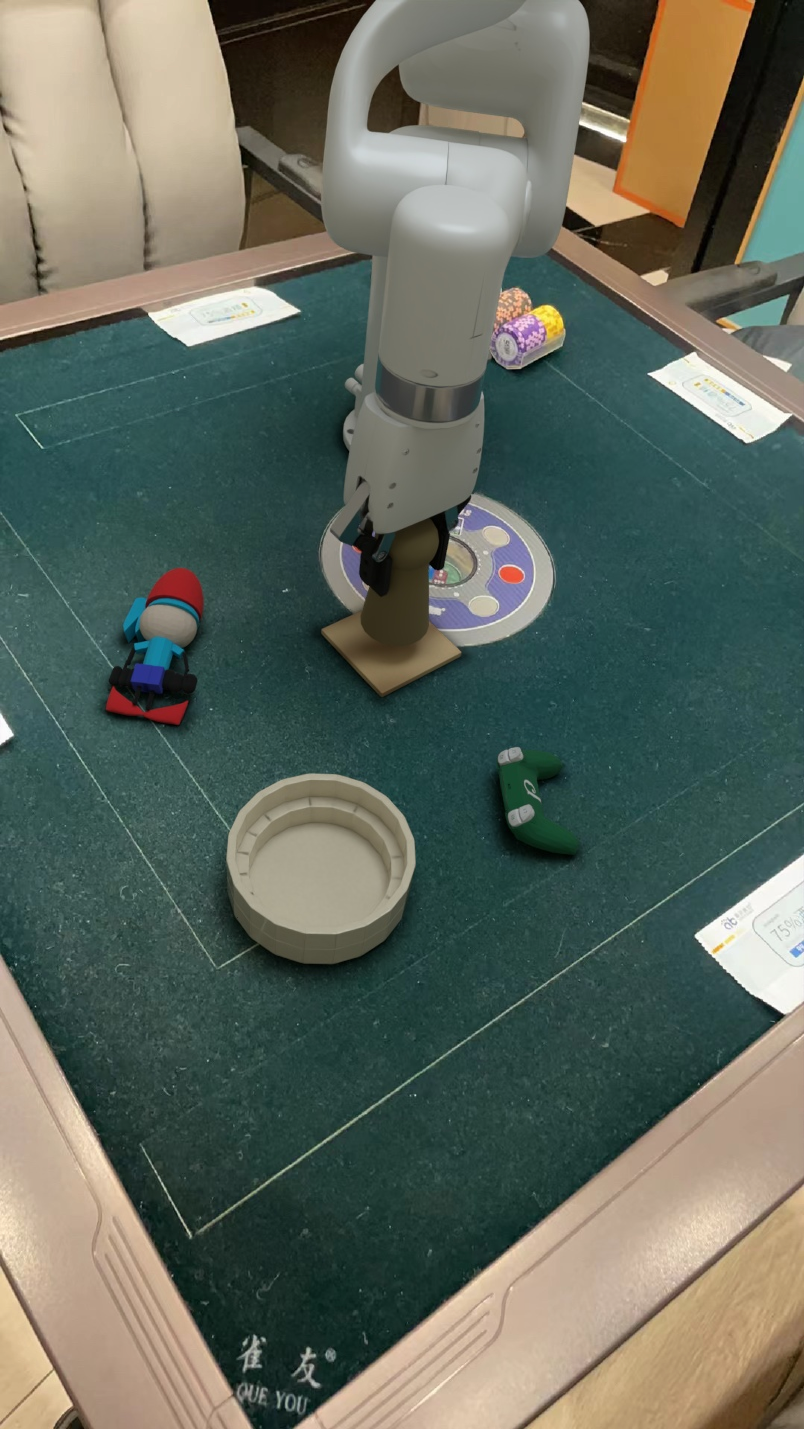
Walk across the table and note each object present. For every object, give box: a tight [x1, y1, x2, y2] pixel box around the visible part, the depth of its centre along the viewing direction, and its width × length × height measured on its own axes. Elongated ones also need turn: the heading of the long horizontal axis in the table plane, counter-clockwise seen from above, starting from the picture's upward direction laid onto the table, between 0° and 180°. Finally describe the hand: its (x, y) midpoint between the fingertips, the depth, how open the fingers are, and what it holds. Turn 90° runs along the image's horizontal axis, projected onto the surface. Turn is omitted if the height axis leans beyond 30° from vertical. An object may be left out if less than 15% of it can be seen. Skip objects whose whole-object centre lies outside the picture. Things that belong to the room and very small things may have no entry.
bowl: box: [225, 773, 417, 965], centre depth 76 cm, size 13×13×5 cm
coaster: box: [320, 610, 462, 698], centre depth 94 cm, size 9×9×1 cm
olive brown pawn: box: [360, 518, 439, 646], centre depth 87 cm, size 6×6×11 cm
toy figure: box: [105, 567, 205, 726], centre depth 89 cm, size 8×5×15 cm
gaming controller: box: [496, 746, 580, 856], centre depth 83 cm, size 9×4×6 cm
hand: (401, 571), depth 87 cm, fingers closed on olive brown pawn, 5 cm apart
